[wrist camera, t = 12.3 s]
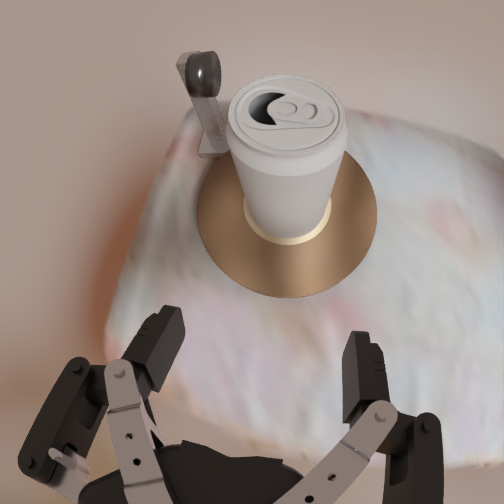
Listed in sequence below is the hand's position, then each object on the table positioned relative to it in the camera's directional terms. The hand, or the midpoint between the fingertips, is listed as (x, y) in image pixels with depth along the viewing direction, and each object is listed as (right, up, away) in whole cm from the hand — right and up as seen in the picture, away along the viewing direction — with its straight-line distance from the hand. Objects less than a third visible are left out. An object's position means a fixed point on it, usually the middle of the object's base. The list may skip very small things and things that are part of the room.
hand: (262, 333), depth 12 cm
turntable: (+3, +8, +12) cm, 15 cm away
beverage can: (+3, +8, +11) cm, 14 cm away
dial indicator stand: (-4, +16, +17) cm, 23 cm away
